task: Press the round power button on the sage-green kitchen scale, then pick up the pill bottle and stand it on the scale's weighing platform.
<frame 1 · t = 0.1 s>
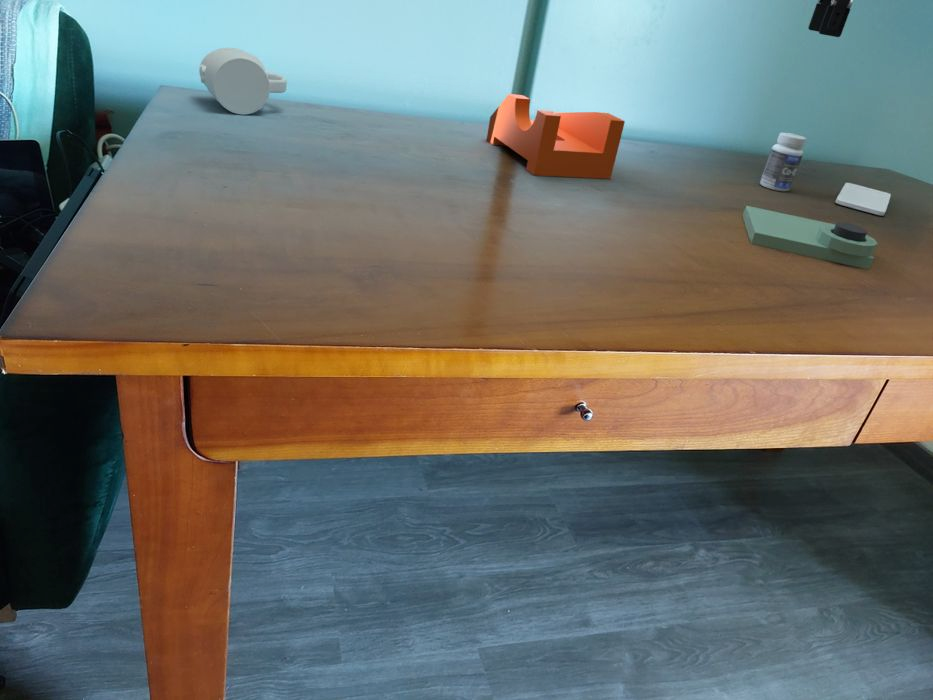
hand: (823, 33, 116), 23 cm above the table, tool pointing down, fingers open, 9 cm apart
scale: (801, 241, 94), on the table
smartphone: (862, 201, 119), on the table
pill bottle: (773, 188, 118), on the table
mug: (245, 109, 112), on the table
tape dispenser: (545, 159, 112), on the table
scale button: (849, 232, 89), point 3 cm above the table, slide at 0.2 cm
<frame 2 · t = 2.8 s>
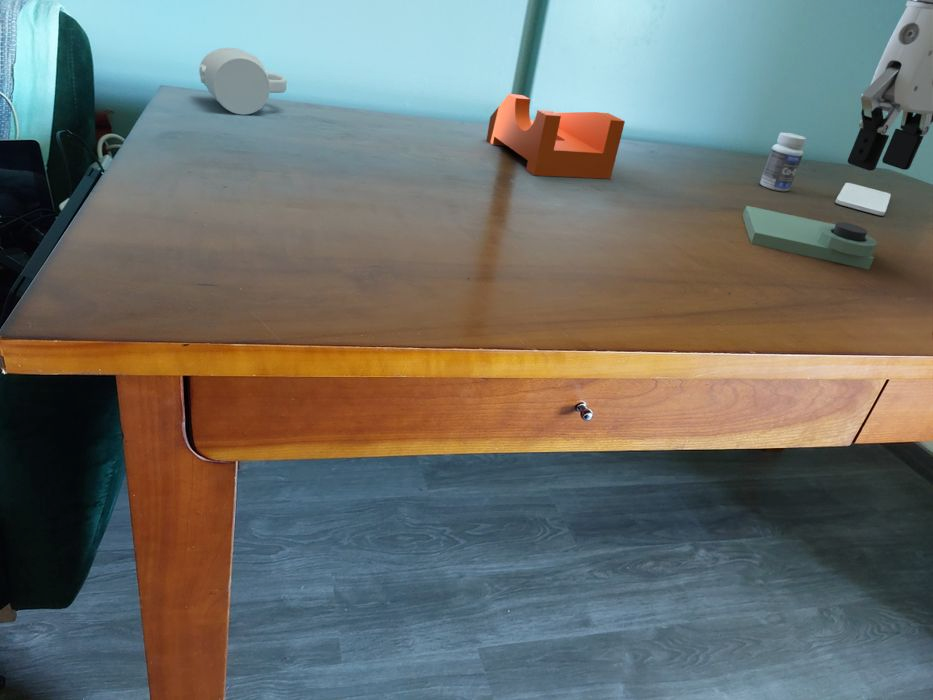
hand: (878, 165, 85), 12 cm above the table, tool pointing down, fingers open, 6 cm apart
nothing on the table moved.
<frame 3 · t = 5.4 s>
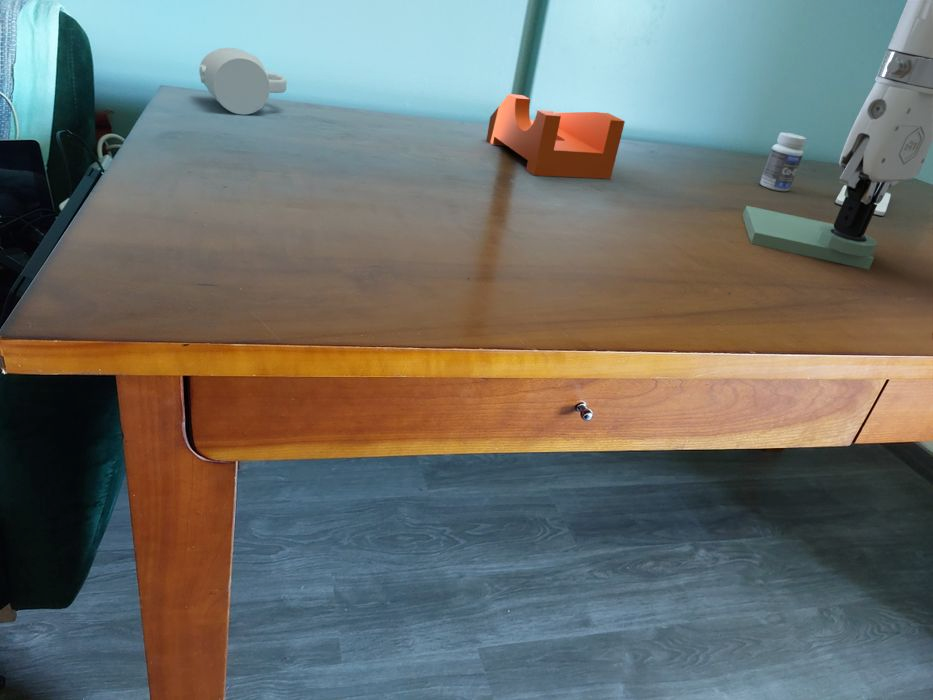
hand: (847, 231, 89), 3 cm above the table, tool pointing down, fingers closed
scale button: (847, 237, 89), point 3 cm above the table, slide at -0.5 cm, touching gripper
everything else where it was.
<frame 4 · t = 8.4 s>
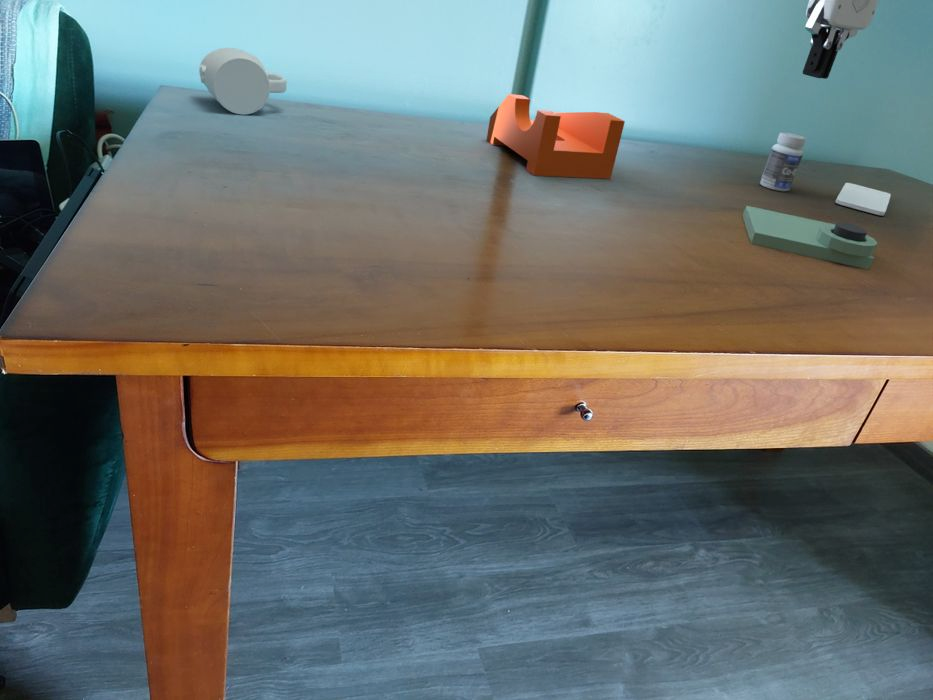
hand: (814, 76, 110), 17 cm above the table, tool pointing down, fingers closed
scale button: (849, 232, 89), point 3 cm above the table, slide at 0.1 cm
everything else where it was.
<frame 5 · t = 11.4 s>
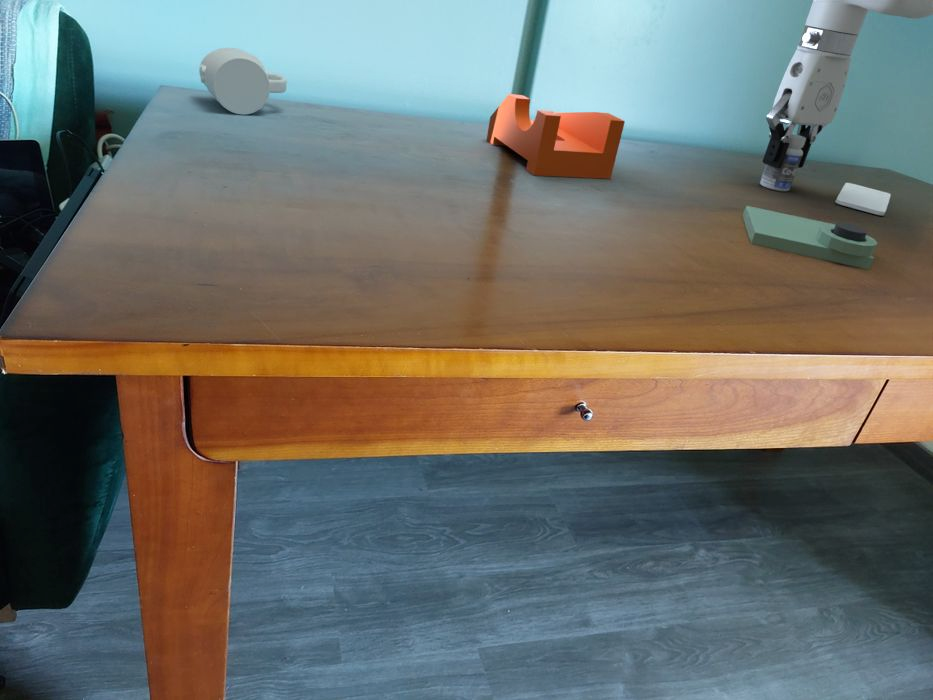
hand: (782, 164, 116), 4 cm above the table, tool pointing down, fingers closed on pill bottle, 4 cm apart
pill bottle: (773, 188, 118), on the table, touching gripper
everything else where it was.
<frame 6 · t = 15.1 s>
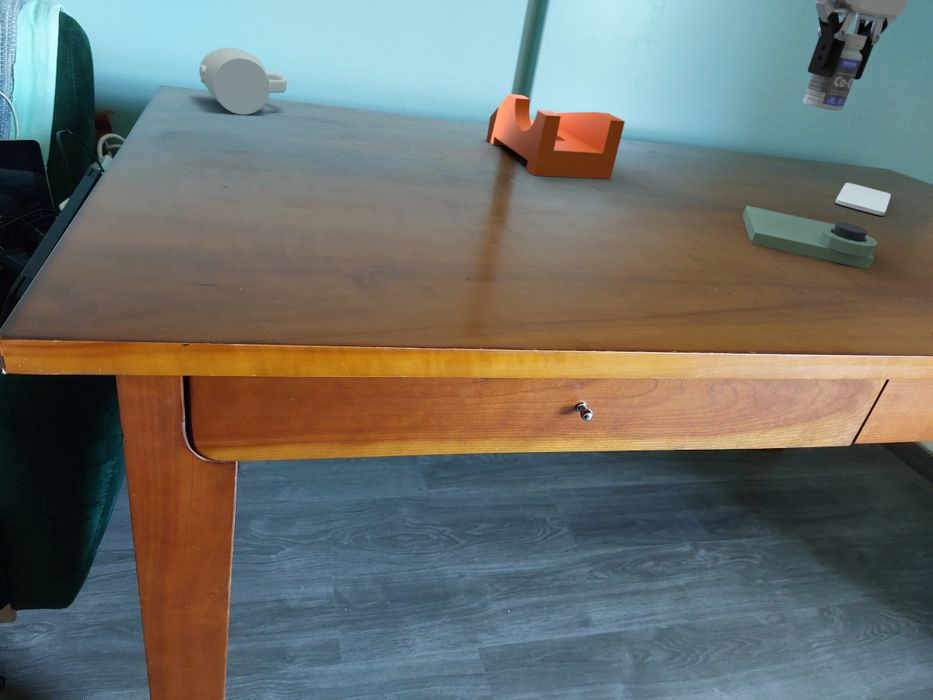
hand: (834, 74, 87), 20 cm above the table, tool pointing down, fingers closed on pill bottle, 4 cm apart
pill bottle: (821, 108, 89), point 16 cm above the table, touching gripper
everything else where it was.
when the fingers open (5 cm above the table, at t = 18.9 s): pill bottle stays where it is, resting on scale.
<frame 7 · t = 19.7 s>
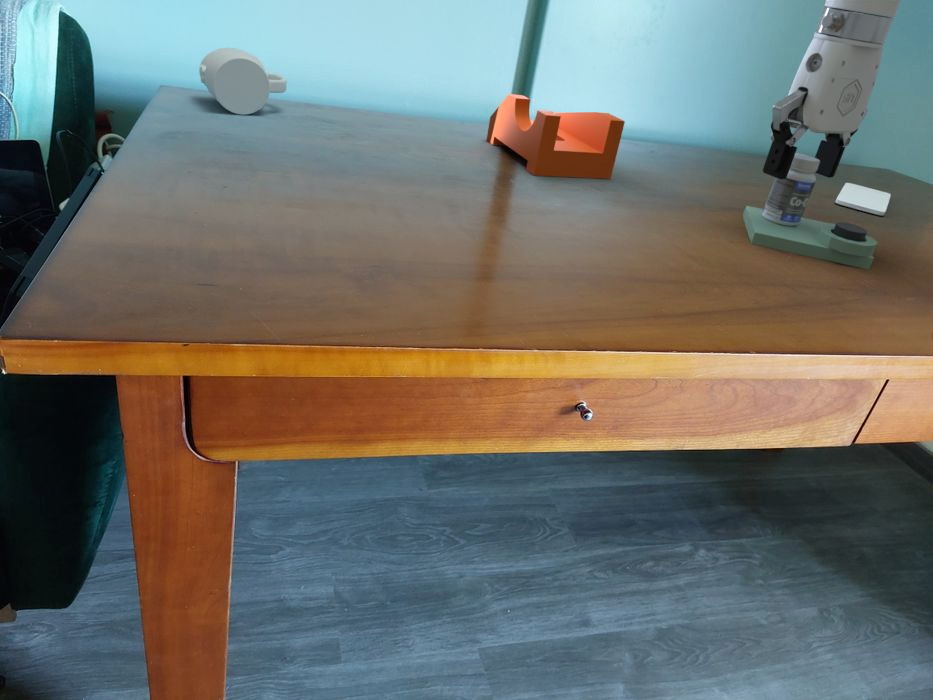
hand: (798, 175, 92), 8 cm above the table, tool pointing down, fingers open, 9 cm apart
pill bottle: (779, 221, 95), point 1 cm above the table, touching scale
everything else where it was.
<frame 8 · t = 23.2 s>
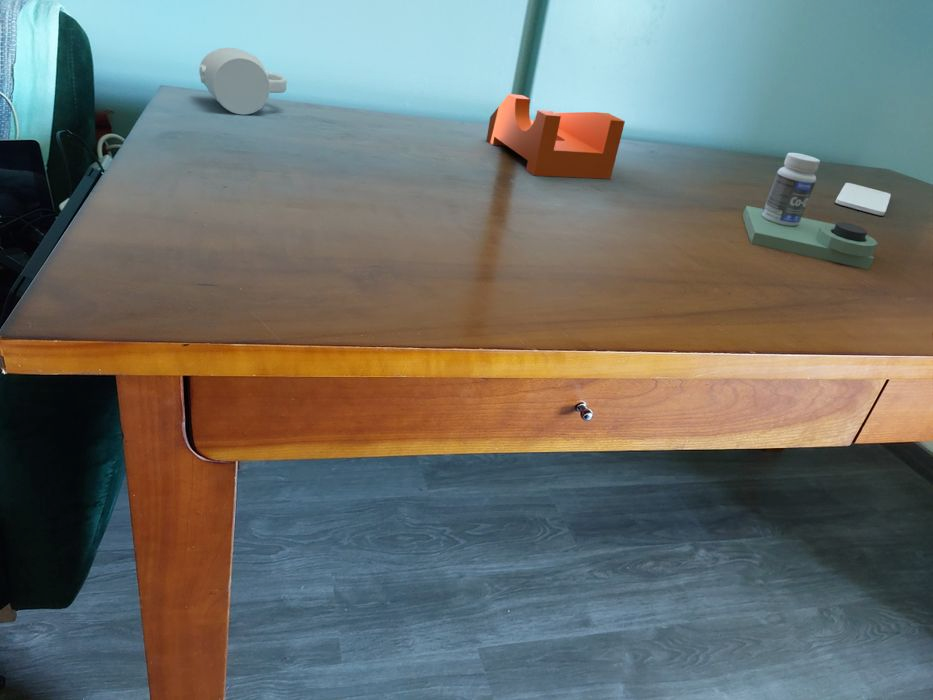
nothing on the table moved.
at the end: pill bottle inside the target area on the scale (0.0 cm from its centre), point 1.4 cm above the scale's base; pill bottle touching scale; scale button pushed in 0.7 cm at the most during the clip, back to where it started at the end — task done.
